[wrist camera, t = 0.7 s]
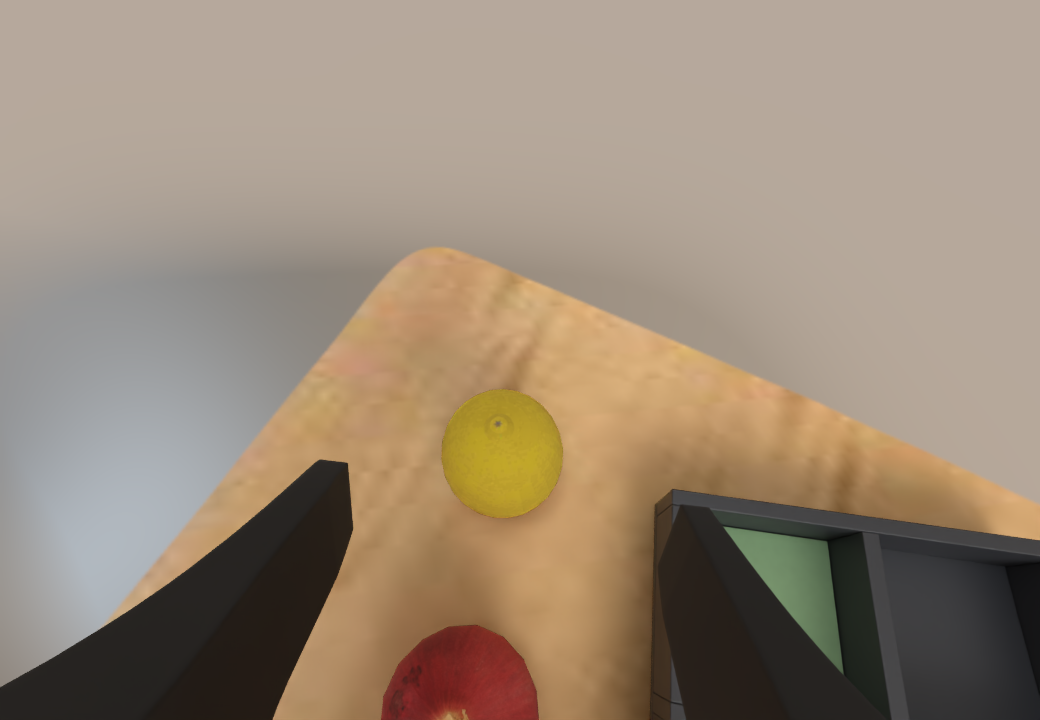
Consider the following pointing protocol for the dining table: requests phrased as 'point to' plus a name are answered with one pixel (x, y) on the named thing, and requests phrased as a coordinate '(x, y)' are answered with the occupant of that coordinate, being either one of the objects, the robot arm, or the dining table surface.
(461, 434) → the lemon
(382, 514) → the dining table surface
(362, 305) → the dining table surface
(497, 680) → the onion
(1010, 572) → the divided tray
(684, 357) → the dining table surface
